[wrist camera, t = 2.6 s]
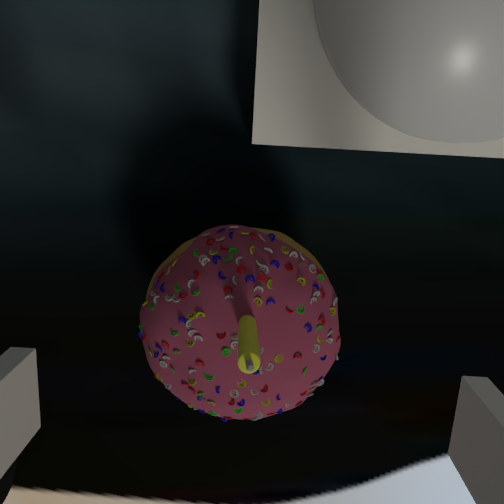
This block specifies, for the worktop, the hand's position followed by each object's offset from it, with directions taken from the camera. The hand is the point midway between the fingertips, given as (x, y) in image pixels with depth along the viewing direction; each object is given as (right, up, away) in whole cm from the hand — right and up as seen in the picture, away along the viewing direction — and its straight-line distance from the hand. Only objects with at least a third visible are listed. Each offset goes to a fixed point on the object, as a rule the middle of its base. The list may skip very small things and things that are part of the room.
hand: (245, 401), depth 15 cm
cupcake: (0, +3, +10) cm, 10 cm away
